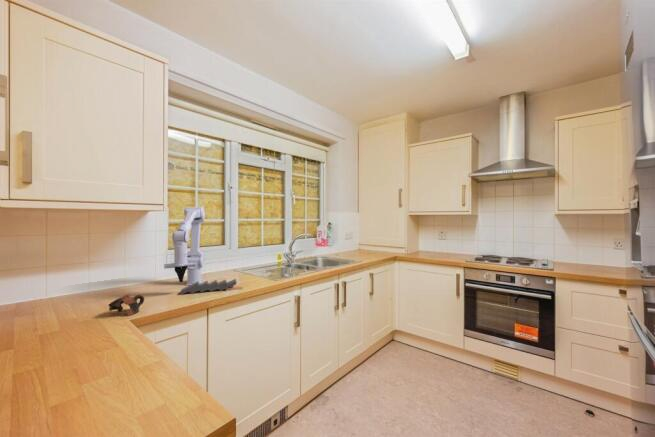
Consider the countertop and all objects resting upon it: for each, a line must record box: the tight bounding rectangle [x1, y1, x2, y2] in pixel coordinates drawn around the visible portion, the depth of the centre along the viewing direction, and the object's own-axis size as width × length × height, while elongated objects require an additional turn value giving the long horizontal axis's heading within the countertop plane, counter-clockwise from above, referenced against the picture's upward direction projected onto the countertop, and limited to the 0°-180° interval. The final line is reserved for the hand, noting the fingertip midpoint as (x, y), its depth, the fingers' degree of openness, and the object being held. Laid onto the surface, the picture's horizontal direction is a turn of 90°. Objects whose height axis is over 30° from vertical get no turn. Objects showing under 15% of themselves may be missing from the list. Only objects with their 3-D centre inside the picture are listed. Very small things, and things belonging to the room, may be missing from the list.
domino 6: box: [225, 284, 244, 291], centre depth 149 cm, size 5×2×8 cm
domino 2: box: [189, 280, 210, 295], centre depth 143 cm, size 5×2×8 cm
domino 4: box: [208, 279, 228, 293], centre depth 146 cm, size 5×2×8 cm
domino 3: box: [199, 279, 219, 293], centre depth 145 cm, size 5×2×8 cm
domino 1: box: [180, 281, 200, 295], centre depth 141 cm, size 5×2×8 cm
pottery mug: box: [108, 294, 145, 317], centre depth 114 cm, size 12×10×8 cm
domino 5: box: [218, 278, 238, 292], centre depth 148 cm, size 5×2×8 cm
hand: (181, 281), depth 140 cm, fingers closed
